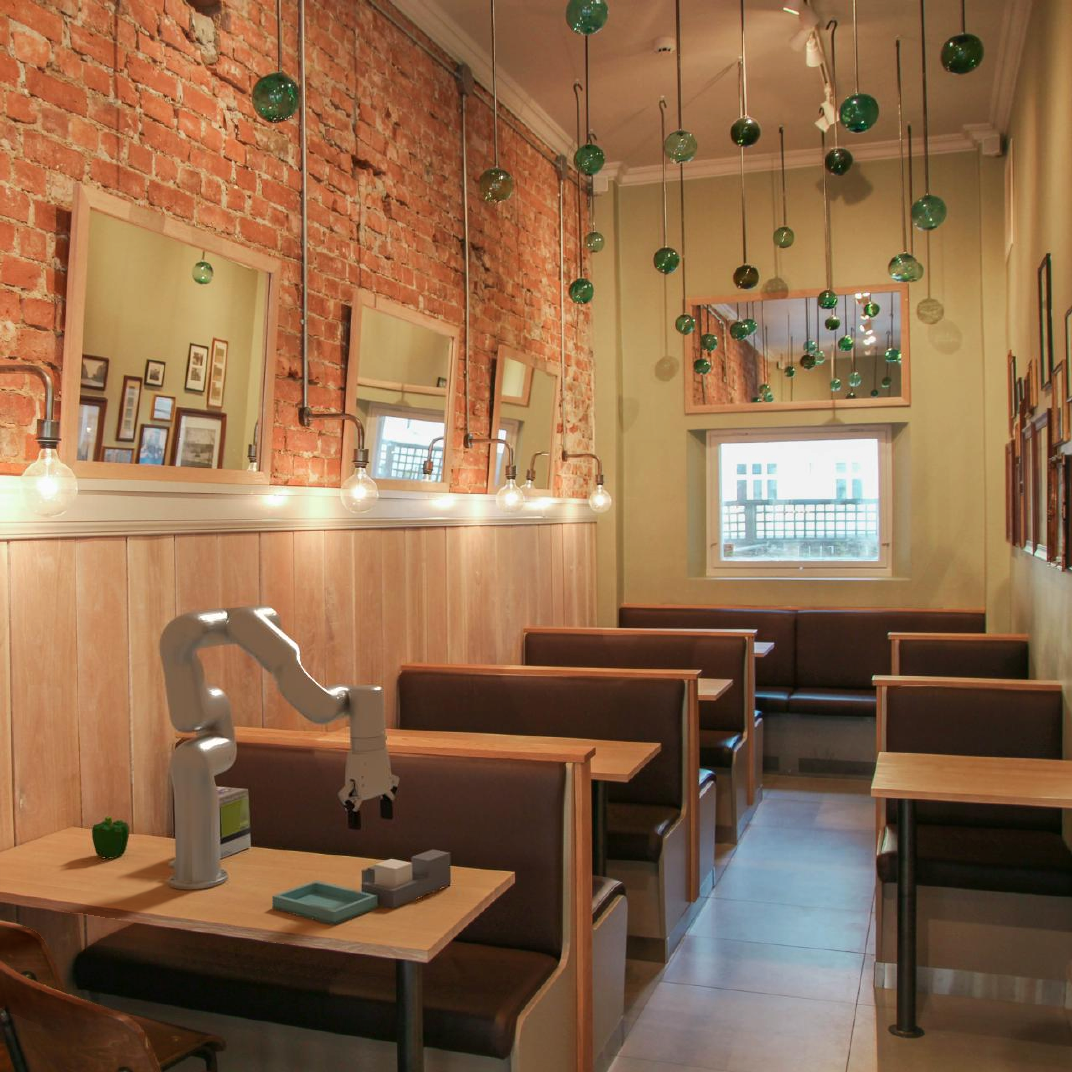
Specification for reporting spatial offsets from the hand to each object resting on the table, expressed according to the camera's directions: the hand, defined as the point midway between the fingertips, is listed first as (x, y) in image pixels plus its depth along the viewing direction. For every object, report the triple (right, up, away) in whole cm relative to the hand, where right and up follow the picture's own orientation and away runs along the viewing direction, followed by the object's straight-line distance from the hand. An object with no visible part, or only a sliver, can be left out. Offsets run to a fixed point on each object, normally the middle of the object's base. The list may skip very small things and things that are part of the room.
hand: (371, 823), depth 238 cm
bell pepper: (-67, -16, +30) cm, 75 cm away
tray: (-8, -15, -10) cm, 20 cm away
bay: (+8, -14, -1) cm, 16 cm away
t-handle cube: (+4, -14, -3) cm, 15 cm away
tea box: (-42, -16, +31) cm, 54 cm away
